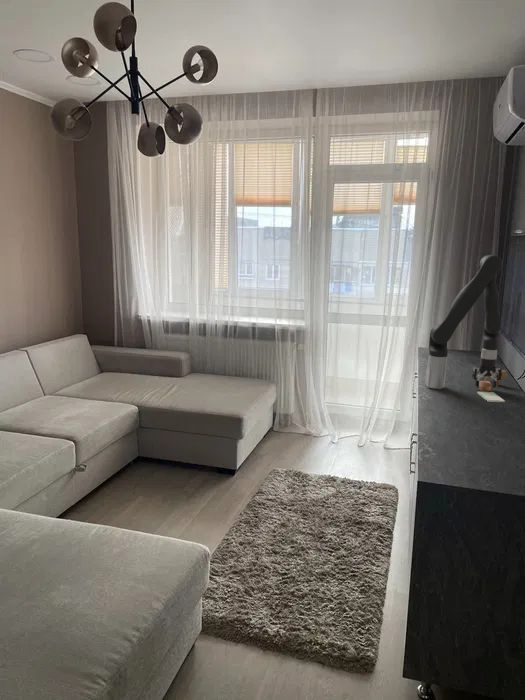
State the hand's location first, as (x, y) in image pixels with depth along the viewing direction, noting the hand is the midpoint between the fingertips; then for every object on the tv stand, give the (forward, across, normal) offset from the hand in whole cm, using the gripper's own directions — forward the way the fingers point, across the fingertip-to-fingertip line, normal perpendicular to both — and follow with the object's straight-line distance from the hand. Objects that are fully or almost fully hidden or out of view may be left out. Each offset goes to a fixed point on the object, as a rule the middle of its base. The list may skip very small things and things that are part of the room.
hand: (485, 387), depth 265 cm
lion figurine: (+2, +10, +13) cm, 16 cm away
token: (+2, 0, 0) cm, 2 cm away
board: (+1, -2, -13) cm, 13 cm away
